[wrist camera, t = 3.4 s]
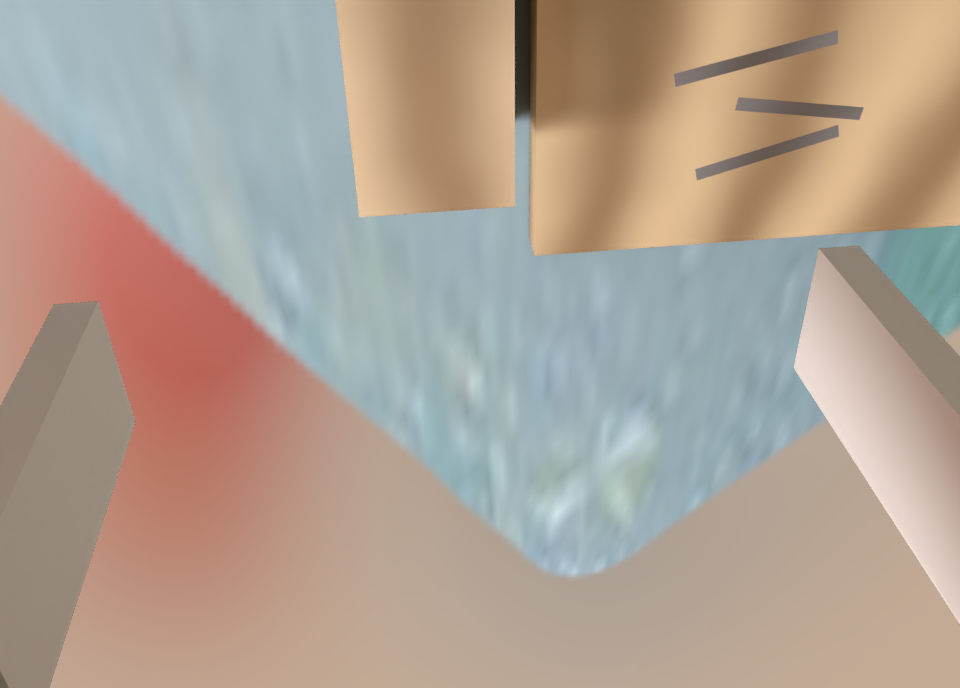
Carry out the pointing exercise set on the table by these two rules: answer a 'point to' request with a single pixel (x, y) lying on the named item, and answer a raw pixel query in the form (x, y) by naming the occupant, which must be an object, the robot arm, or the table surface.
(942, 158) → the board
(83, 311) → the robot arm
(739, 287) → the table surface
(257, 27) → the table surface
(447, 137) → the block
